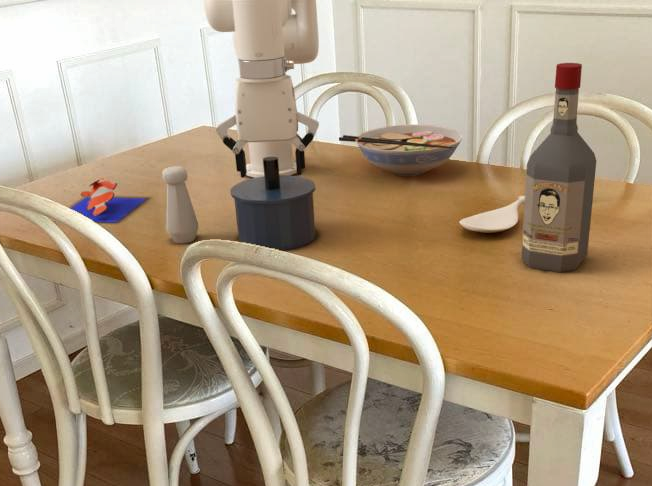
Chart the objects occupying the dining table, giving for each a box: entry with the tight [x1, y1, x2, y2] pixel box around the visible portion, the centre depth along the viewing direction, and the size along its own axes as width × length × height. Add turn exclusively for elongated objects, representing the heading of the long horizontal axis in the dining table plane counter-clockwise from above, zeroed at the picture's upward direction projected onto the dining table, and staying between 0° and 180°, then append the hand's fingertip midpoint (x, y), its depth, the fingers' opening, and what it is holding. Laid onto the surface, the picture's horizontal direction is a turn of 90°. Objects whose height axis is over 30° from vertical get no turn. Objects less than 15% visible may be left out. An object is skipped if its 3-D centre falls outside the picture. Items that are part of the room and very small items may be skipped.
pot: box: [233, 192, 316, 251], centre depth 155 cm, size 14×14×8 cm
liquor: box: [521, 62, 597, 273], centre depth 134 cm, size 9×9×30 cm
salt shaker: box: [161, 165, 199, 244], centre depth 155 cm, size 6×6×13 cm
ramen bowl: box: [338, 124, 464, 177], centre depth 187 cm, size 25×23×8 cm
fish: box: [80, 177, 118, 217], centre depth 174 cm, size 13×5×9 cm
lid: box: [229, 157, 316, 204], centre depth 152 cm, size 15×15×6 cm
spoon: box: [459, 195, 525, 234], centre depth 161 cm, size 9×32×4 cm, turn 135°
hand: (271, 174), depth 151 cm, fingers open, 9 cm apart
